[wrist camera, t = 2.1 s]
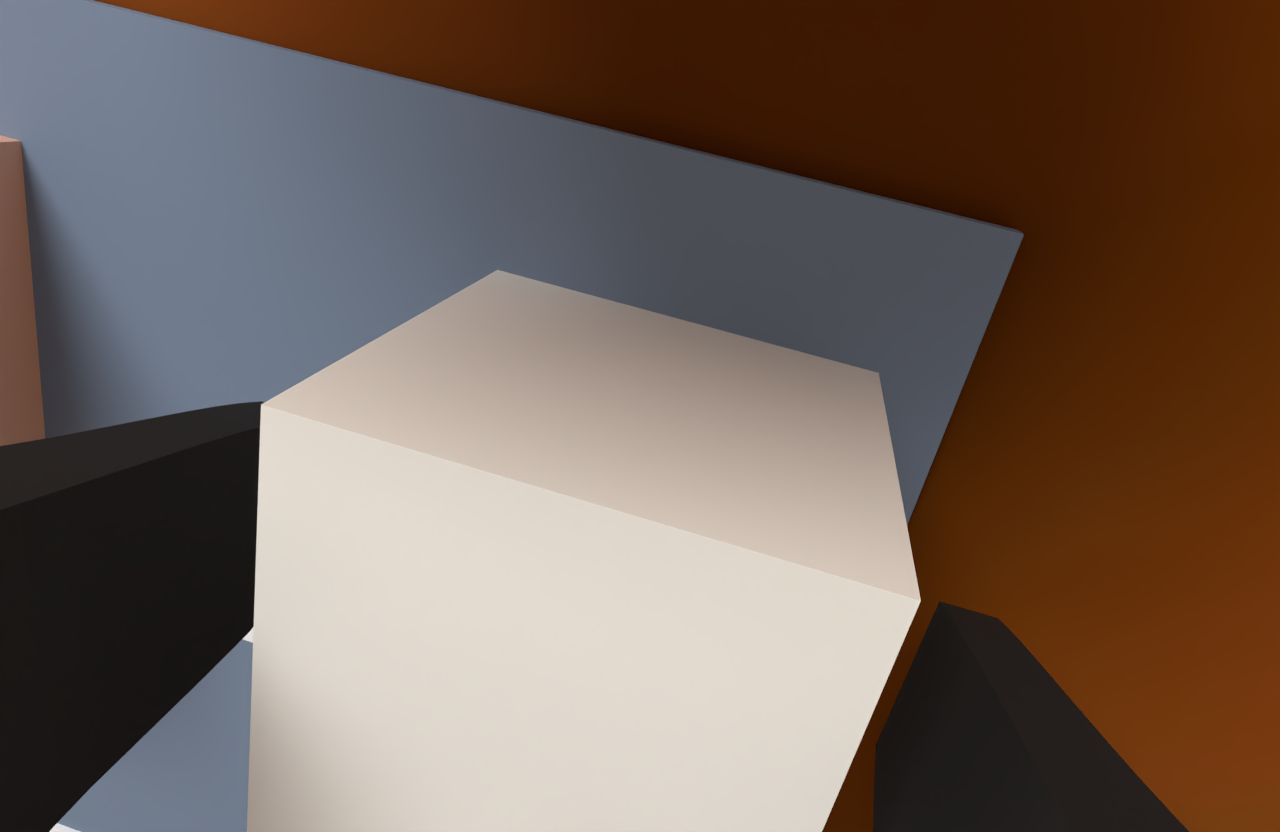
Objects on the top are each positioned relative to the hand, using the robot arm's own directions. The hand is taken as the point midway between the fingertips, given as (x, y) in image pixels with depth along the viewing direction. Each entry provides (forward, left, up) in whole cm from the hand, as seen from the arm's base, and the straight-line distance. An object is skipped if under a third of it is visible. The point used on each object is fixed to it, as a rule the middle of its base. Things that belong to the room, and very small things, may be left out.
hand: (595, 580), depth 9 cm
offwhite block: (0, 0, -2) cm, 2 cm away
